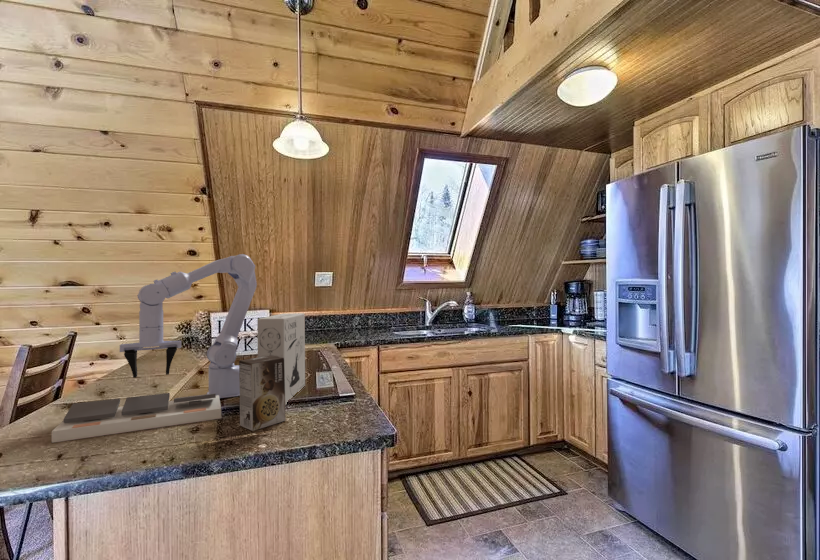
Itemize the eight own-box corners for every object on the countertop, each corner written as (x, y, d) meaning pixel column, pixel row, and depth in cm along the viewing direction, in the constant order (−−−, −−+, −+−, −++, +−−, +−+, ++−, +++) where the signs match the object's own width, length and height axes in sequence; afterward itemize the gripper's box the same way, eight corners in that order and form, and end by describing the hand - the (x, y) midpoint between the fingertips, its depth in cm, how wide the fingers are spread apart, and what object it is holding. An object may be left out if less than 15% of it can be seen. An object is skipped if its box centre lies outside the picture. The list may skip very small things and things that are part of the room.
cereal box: (284, 407, 115) (283, 318, 115) (257, 407, 115) (257, 318, 115) (305, 387, 136) (304, 313, 137) (283, 388, 136) (282, 313, 137)
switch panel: (219, 403, 119) (218, 392, 119) (221, 418, 105) (221, 405, 105) (70, 422, 103) (70, 409, 103) (51, 442, 90) (51, 427, 90)
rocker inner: (214, 397, 115) (214, 393, 115) (215, 397, 108) (215, 393, 108) (175, 401, 110) (175, 397, 111) (173, 402, 104) (173, 398, 104)
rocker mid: (169, 396, 110) (169, 392, 110) (167, 409, 103) (167, 406, 103) (126, 401, 106) (126, 397, 105) (121, 415, 99) (121, 411, 98)
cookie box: (272, 416, 106) (271, 354, 107) (286, 421, 102) (285, 357, 103) (238, 425, 99) (238, 359, 100) (252, 431, 95) (252, 362, 96)
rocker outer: (120, 401, 105) (120, 398, 105) (114, 416, 98) (114, 412, 98) (73, 407, 101) (72, 403, 100) (63, 423, 94) (63, 419, 93)
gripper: (181, 324, 121) (181, 370, 121) (122, 327, 114) (122, 375, 114) (180, 326, 115) (180, 374, 115) (118, 329, 108) (118, 380, 108)
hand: (151, 375), depth 114 cm, fingers open, 7 cm apart
